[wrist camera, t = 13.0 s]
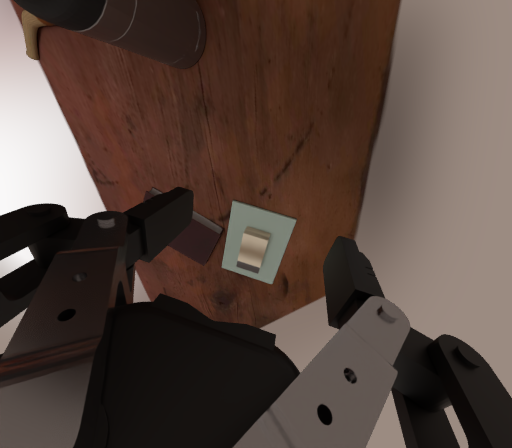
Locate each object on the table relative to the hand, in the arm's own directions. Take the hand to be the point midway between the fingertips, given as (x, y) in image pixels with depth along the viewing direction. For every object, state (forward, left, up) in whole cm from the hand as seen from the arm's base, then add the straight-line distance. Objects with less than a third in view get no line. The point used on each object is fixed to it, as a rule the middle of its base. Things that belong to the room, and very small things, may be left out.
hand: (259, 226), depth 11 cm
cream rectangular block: (-2, -23, -28) cm, 36 cm away
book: (-21, -24, -29) cm, 43 cm away
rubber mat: (-2, -23, -28) cm, 36 cm away
